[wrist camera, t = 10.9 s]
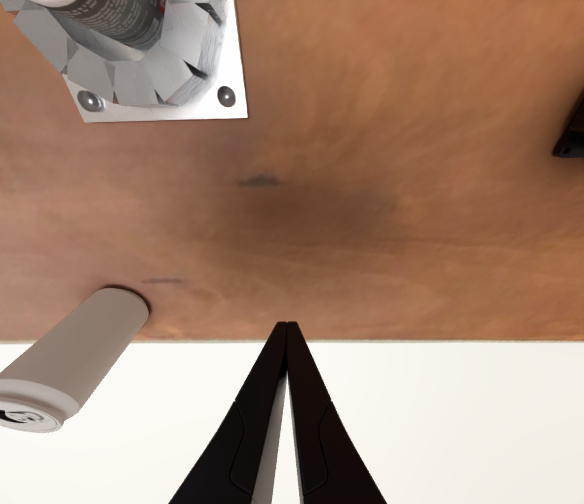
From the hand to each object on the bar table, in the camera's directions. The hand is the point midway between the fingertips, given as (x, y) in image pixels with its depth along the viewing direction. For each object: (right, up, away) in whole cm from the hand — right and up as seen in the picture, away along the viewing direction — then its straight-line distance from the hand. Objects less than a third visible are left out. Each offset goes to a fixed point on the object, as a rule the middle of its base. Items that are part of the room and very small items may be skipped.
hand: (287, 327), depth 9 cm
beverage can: (-21, -3, +17) cm, 27 cm away
